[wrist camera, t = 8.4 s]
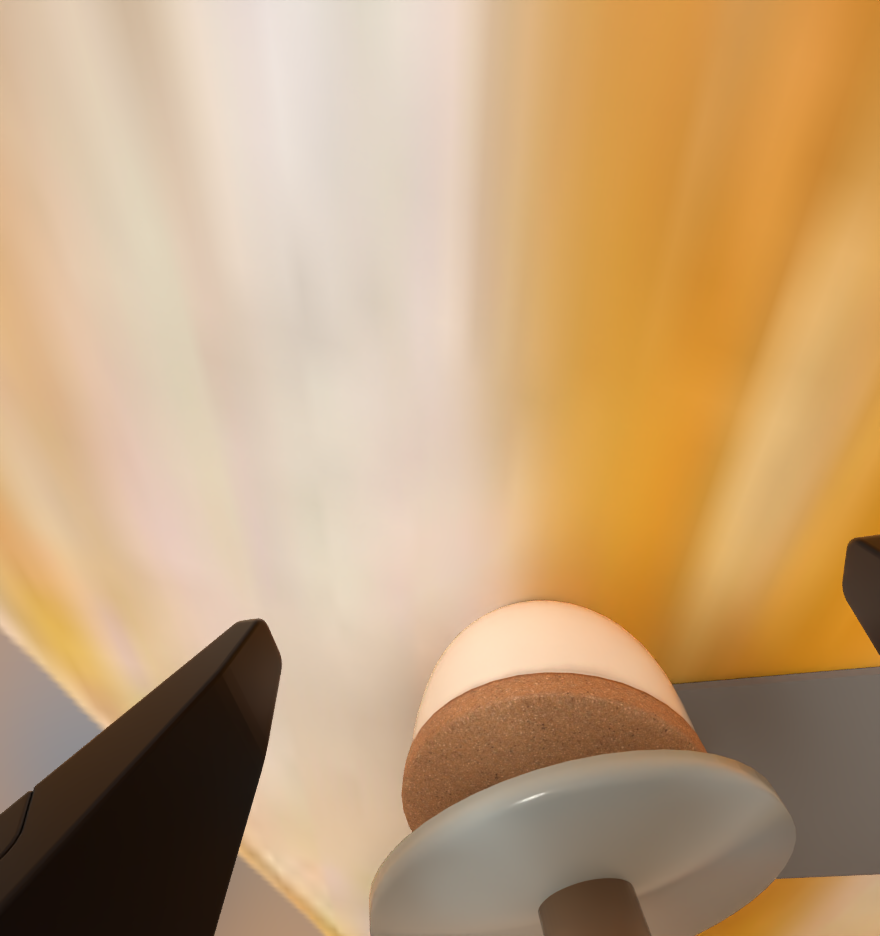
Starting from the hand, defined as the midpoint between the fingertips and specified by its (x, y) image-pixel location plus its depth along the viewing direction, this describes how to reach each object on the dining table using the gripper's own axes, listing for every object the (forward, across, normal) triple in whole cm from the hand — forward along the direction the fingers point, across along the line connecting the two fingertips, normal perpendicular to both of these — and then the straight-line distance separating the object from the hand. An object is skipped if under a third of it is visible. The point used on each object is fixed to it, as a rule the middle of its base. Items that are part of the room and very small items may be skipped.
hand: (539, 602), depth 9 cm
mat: (+13, -9, +25) cm, 30 cm away
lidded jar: (+13, 0, +14) cm, 19 cm away
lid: (+3, 0, +14) cm, 14 cm away
